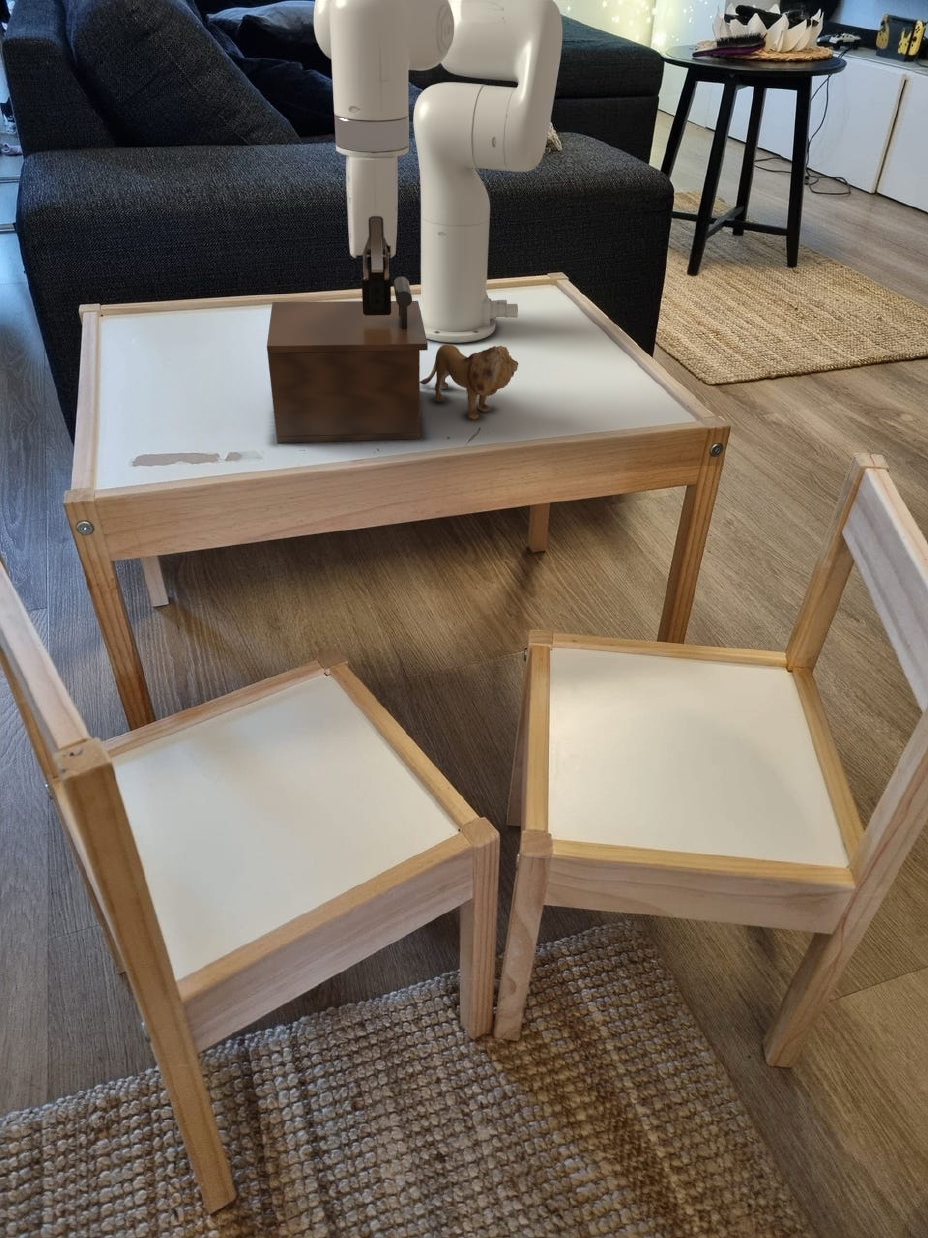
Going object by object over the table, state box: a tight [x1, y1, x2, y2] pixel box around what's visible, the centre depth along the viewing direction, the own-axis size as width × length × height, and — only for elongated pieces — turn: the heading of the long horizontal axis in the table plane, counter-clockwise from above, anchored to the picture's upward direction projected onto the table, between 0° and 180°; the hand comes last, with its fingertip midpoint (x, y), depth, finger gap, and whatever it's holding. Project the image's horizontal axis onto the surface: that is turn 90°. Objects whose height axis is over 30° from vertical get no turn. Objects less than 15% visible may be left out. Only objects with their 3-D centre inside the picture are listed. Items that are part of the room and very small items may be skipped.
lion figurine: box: [420, 343, 519, 420], centre depth 113 cm, size 15×5×9 cm, turn 50°
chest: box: [267, 351, 421, 444], centre depth 109 cm, size 17×14×11 cm
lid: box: [266, 276, 429, 354], centre depth 105 cm, size 18×14×5 cm
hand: (376, 312), depth 105 cm, fingers closed
